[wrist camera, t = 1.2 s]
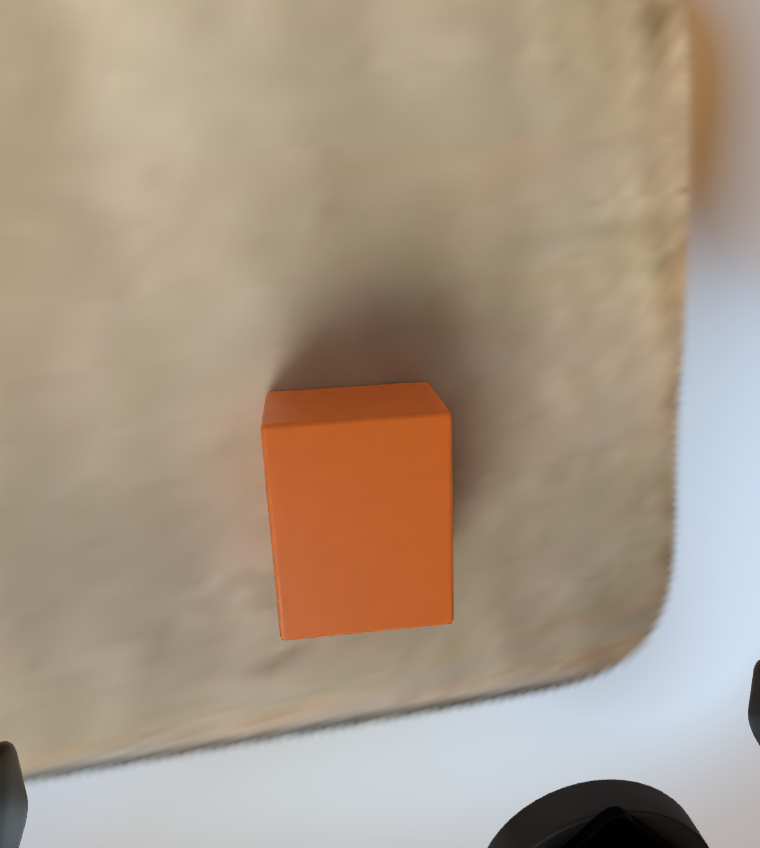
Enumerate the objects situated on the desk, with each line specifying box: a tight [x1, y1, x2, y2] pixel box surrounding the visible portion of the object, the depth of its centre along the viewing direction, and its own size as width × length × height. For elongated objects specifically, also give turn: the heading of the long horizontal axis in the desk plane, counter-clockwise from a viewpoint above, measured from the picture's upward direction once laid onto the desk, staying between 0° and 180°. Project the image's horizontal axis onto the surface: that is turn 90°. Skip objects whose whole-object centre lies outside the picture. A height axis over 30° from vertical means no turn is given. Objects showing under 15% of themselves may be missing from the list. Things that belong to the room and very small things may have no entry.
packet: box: [261, 382, 454, 640], centre depth 14 cm, size 4×4×2 cm
